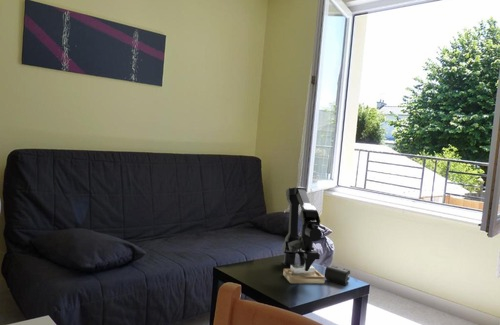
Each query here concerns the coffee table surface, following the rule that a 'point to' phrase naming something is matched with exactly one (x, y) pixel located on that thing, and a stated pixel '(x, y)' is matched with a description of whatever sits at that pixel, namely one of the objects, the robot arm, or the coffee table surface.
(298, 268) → the block
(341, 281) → the end cap
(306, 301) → the coffee table surface
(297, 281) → the beech stand
